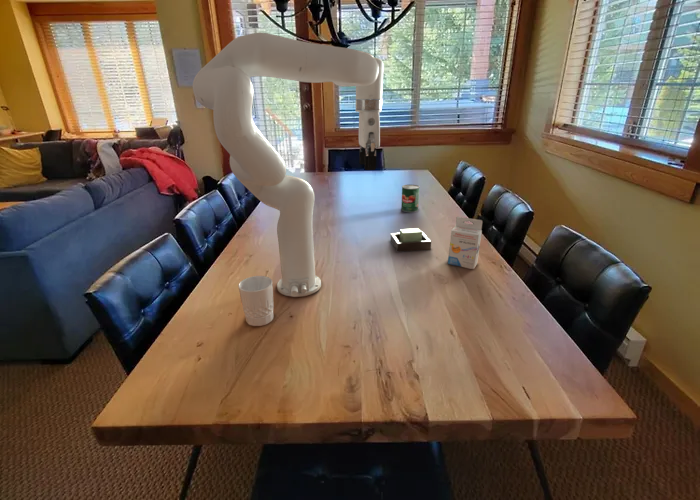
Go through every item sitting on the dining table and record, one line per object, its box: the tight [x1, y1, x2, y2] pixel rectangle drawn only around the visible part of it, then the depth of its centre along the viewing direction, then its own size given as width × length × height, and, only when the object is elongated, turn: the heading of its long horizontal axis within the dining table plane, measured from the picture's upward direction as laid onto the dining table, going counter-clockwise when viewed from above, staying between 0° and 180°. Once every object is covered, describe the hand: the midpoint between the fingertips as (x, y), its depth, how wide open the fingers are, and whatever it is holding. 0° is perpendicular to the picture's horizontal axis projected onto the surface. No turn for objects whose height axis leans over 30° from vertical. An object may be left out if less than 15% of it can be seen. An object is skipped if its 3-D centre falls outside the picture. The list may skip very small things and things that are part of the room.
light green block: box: [399, 227, 423, 242], centre depth 133 cm, size 4×7×5 cm, turn 98°
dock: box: [390, 231, 432, 253], centre depth 134 cm, size 10×12×3 cm
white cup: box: [238, 275, 275, 327], centre depth 91 cm, size 8×8×10 cm
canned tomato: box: [400, 184, 420, 213], centre depth 171 cm, size 8×8×11 cm
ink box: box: [447, 216, 483, 270], centre depth 117 cm, size 8×5×15 cm, turn 60°
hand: (367, 166), depth 113 cm, fingers open, 9 cm apart
